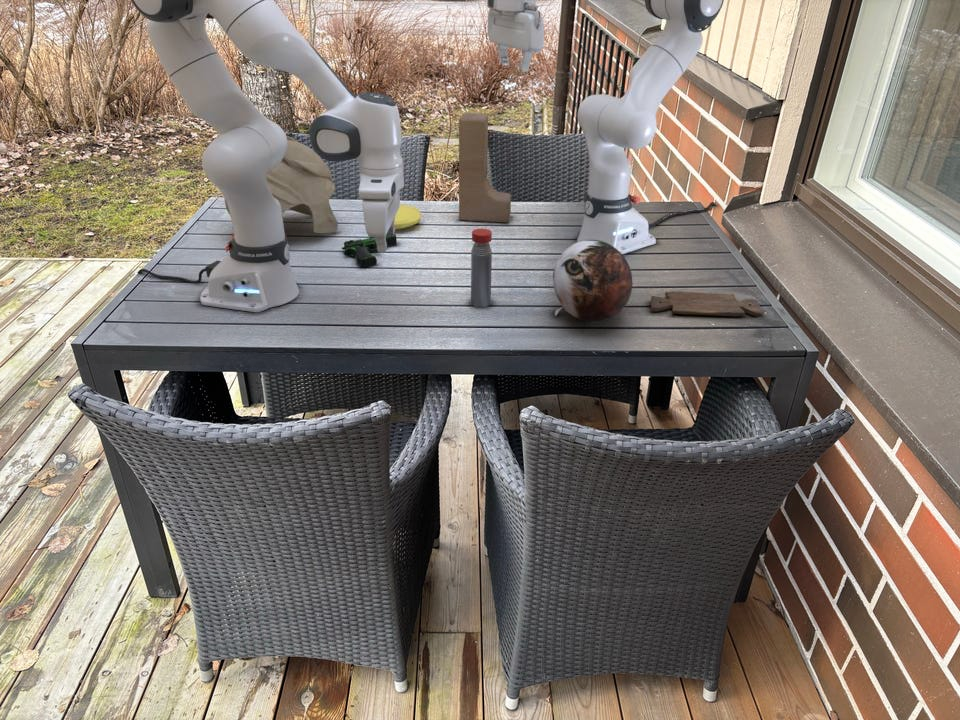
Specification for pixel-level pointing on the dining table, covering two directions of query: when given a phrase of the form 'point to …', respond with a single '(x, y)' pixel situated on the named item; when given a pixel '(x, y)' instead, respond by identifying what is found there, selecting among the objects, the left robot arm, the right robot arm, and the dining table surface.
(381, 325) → the dining table surface
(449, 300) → the dining table surface
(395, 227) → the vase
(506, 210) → the decorative block
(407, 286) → the dining table surface
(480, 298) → the bottle
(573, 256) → the plush toy
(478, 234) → the cap
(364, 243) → the handgun
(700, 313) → the wooden paddle board
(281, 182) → the helmet
